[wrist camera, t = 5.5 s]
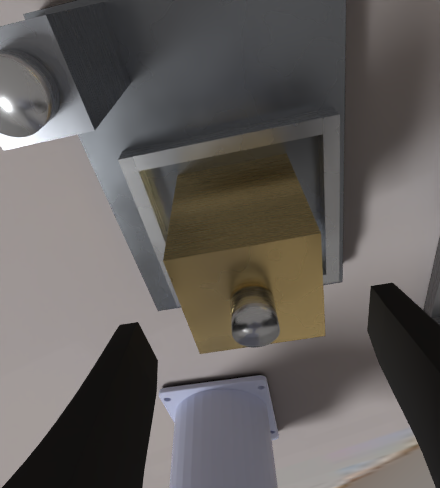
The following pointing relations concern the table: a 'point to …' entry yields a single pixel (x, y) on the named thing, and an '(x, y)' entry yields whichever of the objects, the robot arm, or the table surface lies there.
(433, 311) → the rail
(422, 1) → the table surface
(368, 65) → the table surface
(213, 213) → the housing
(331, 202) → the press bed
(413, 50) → the table surface
